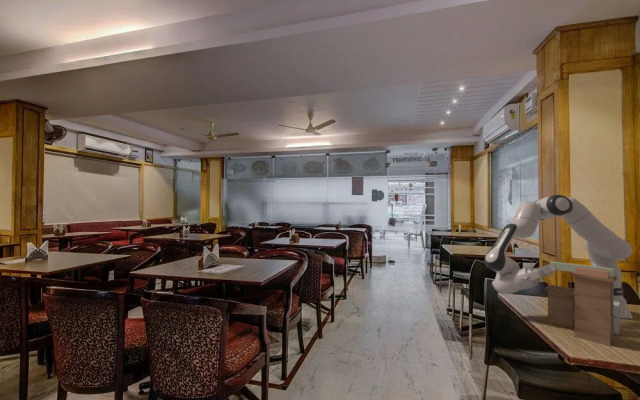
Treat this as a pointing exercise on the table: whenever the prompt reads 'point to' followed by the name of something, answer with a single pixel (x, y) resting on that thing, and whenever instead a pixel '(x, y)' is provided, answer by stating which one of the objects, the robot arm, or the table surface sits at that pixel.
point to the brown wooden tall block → (594, 308)
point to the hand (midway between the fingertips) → (558, 266)
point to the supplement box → (616, 317)
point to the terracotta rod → (592, 272)
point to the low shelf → (561, 305)
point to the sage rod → (572, 267)
